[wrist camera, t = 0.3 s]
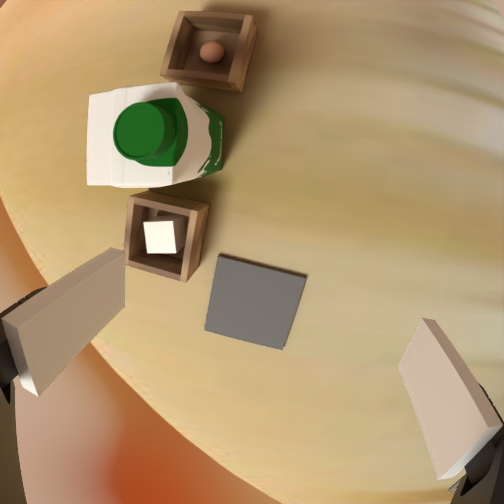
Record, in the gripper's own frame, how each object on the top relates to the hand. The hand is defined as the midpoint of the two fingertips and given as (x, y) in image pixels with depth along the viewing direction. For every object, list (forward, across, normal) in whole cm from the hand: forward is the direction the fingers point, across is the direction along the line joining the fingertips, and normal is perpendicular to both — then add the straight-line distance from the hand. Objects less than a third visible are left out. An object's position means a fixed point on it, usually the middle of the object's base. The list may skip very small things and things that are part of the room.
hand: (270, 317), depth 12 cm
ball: (+27, -12, +18) cm, 35 cm away
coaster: (+27, -1, -14) cm, 31 cm away
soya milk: (+28, -13, +6) cm, 31 cm away
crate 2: (+27, -14, -6) cm, 31 cm away
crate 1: (+28, -12, +18) cm, 35 cm away
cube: (+27, -14, -6) cm, 31 cm away
